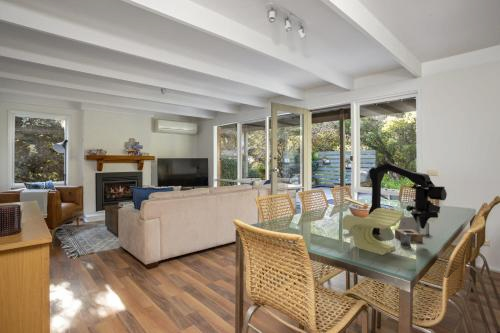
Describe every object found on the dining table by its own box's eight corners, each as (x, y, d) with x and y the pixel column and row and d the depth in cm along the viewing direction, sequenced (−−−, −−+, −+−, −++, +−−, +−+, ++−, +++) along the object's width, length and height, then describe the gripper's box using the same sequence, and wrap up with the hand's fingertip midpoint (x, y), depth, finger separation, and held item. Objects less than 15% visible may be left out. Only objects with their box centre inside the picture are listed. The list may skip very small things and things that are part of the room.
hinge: (396, 229, 169) (399, 214, 171) (399, 231, 172) (402, 216, 173) (426, 236, 155) (428, 219, 157) (429, 237, 158) (431, 220, 160)
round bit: (403, 246, 137) (403, 234, 137) (398, 243, 142) (399, 232, 142) (412, 246, 137) (412, 234, 137) (407, 243, 142) (407, 232, 141)
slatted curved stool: (373, 238, 151) (374, 207, 150) (403, 245, 138) (404, 211, 137) (342, 249, 133) (342, 213, 132) (373, 259, 120) (373, 219, 119)
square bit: (419, 234, 138) (419, 217, 138) (416, 232, 141) (416, 215, 141) (425, 234, 138) (425, 217, 138) (422, 232, 141) (422, 215, 141)
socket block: (403, 241, 145) (403, 234, 145) (394, 236, 155) (394, 229, 155) (422, 241, 145) (422, 234, 144) (412, 236, 155) (412, 229, 154)
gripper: (449, 200, 129) (449, 232, 130) (426, 195, 148) (426, 223, 148) (426, 200, 130) (425, 232, 130) (406, 195, 148) (405, 223, 149)
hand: (421, 227), depth 139 cm, fingers closed on square bit, 3 cm apart
